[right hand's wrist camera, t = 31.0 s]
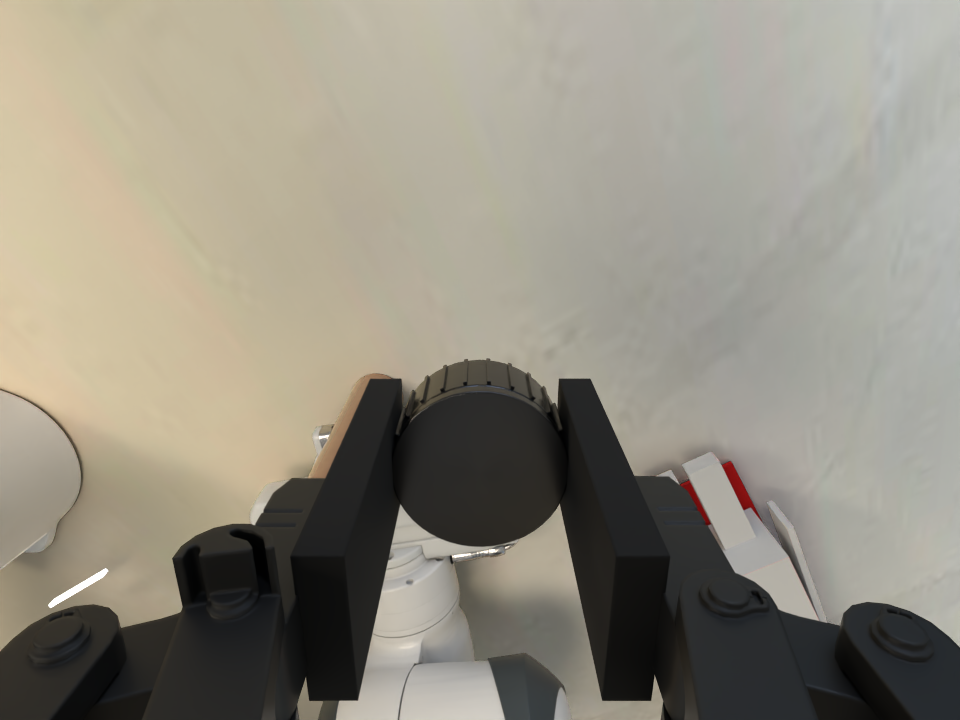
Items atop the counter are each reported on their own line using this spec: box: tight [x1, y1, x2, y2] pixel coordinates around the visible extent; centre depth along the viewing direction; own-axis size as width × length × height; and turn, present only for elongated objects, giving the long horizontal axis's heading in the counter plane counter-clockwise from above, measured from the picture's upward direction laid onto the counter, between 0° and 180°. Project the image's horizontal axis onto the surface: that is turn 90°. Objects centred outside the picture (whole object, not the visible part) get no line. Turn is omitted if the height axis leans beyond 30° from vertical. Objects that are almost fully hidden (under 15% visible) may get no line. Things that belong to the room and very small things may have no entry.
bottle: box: [308, 374, 403, 478], centre depth 41 cm, size 4×4×24 cm
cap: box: [392, 359, 568, 547], centre depth 14 cm, size 4×4×2 cm
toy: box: [657, 451, 828, 623], centre depth 54 cm, size 12×13×30 cm
